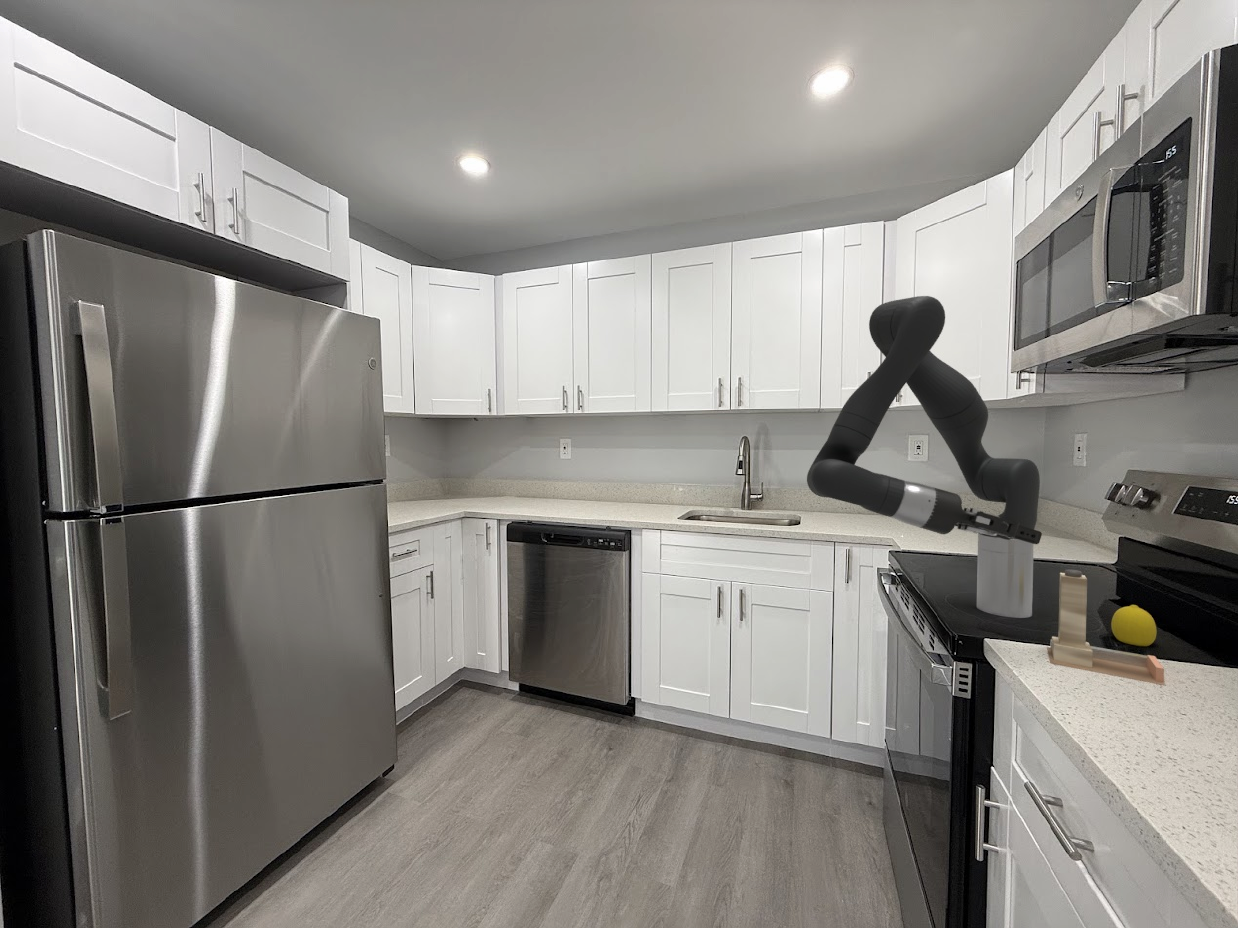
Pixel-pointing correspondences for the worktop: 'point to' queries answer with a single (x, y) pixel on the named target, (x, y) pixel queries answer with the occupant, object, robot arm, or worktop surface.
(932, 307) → the robot arm
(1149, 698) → the worktop surface
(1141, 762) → the worktop surface
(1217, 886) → the worktop surface
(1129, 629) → the lemon
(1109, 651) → the straightedge
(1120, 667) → the board
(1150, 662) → the end stop
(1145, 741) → the worktop surface
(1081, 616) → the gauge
